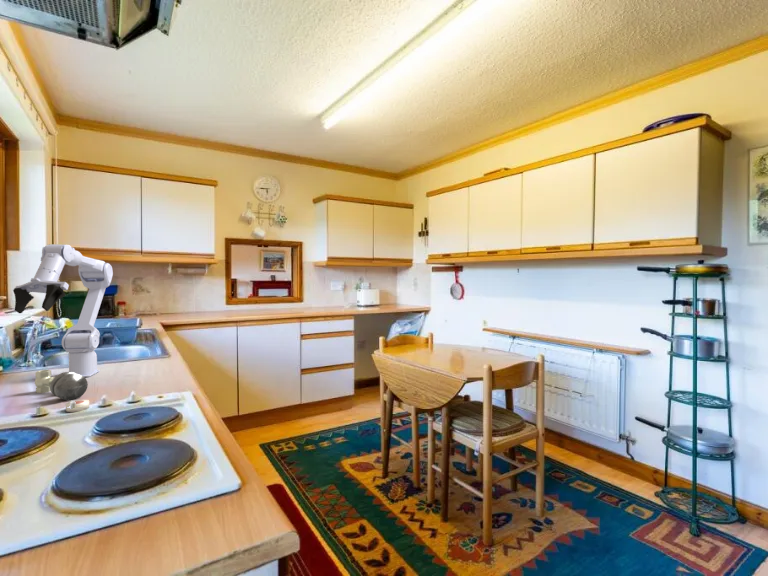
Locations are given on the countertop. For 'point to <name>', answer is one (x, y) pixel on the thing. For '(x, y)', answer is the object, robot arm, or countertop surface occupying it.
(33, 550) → the countertop surface
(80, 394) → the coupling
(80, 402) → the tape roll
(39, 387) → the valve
